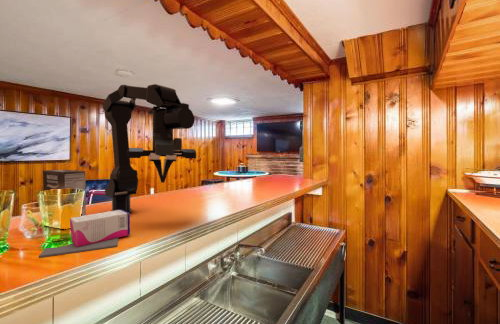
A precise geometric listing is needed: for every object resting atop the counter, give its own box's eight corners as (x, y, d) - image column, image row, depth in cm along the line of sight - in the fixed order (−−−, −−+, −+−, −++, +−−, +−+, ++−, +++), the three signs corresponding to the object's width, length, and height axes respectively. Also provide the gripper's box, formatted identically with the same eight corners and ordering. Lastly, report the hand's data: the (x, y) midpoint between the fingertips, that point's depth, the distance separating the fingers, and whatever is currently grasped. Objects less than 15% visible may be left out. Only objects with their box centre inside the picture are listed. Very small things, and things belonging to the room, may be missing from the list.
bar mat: (60, 233, 64) (60, 232, 64) (120, 226, 70) (120, 225, 70) (38, 257, 49) (38, 255, 49) (117, 246, 55) (117, 245, 55)
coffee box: (43, 226, 69) (41, 170, 69) (67, 220, 75) (65, 169, 75) (63, 230, 66) (62, 171, 65) (87, 224, 72) (86, 170, 71)
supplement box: (121, 209, 66) (69, 217, 57) (130, 212, 62) (76, 221, 53) (121, 230, 66) (69, 241, 57) (130, 235, 62) (76, 248, 53)
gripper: (126, 125, 60) (126, 188, 61) (200, 129, 68) (200, 185, 69) (127, 128, 70) (127, 182, 71) (192, 131, 78) (192, 180, 79)
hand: (162, 182), depth 72 cm, fingers closed
